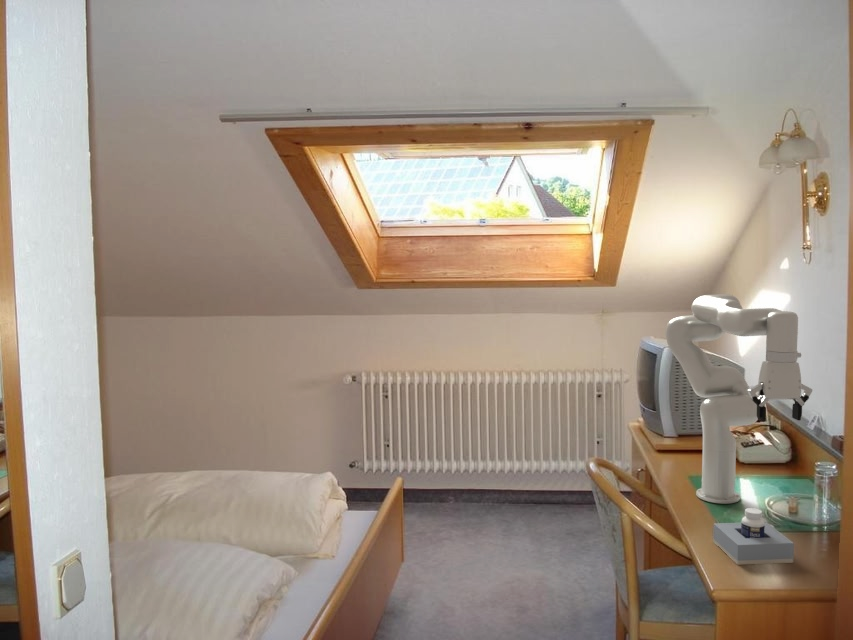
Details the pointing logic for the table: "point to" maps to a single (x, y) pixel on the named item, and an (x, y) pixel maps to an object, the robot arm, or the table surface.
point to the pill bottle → (752, 524)
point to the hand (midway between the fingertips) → (778, 419)
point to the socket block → (753, 545)
